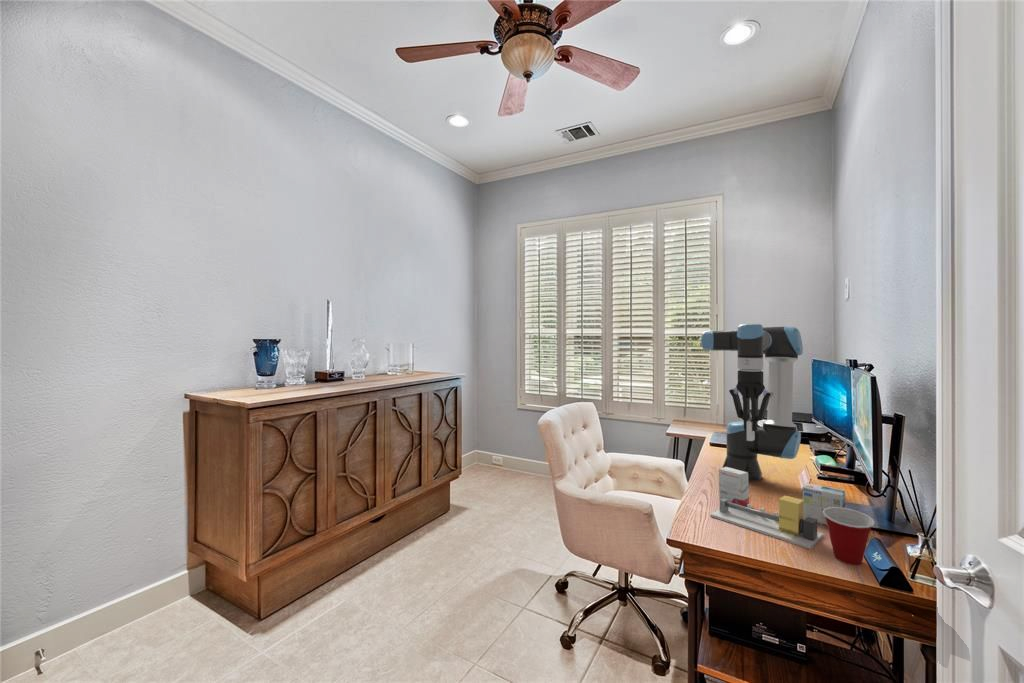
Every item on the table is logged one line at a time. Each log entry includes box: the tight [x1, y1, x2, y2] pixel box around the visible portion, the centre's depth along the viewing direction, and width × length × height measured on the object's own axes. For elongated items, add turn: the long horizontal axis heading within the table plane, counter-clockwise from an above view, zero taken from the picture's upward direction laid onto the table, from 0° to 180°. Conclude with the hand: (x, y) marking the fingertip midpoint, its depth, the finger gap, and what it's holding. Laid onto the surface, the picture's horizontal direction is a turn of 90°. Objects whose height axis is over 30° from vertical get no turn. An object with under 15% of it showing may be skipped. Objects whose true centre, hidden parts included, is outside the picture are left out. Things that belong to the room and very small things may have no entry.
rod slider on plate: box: [710, 498, 824, 550], centre depth 130 cm, size 28×12×6 cm, turn 39°
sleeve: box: [778, 495, 804, 535], centre depth 125 cm, size 5×5×9 cm
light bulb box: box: [802, 482, 846, 526], centre depth 134 cm, size 11×7×11 cm, turn 45°
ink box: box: [718, 467, 750, 507], centre depth 149 cm, size 9×5×12 cm, turn 33°
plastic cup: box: [823, 507, 875, 566], centre depth 110 cm, size 11×11×12 cm
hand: (750, 440), depth 139 cm, fingers closed
